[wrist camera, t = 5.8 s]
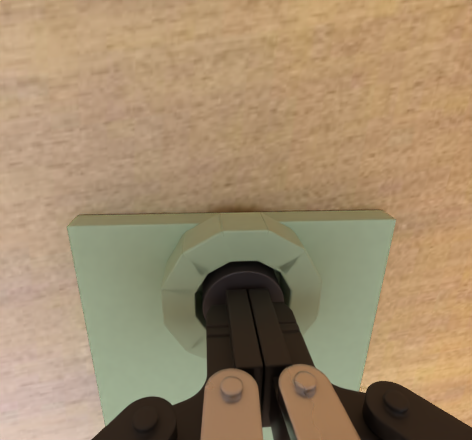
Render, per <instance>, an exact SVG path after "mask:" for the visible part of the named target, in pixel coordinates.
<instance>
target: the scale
mask: <svg viewBox="0 0 472 440" xmlns="http://www.w3.org/2000/svg"><path fill="white" fill-rule="evenodd" d="M395 223H396V219H395V218H393V217H392V216H390V215H389V214H387V213H386V212H384V211H383V210H346V211H290V212H234V213H179V214H123V215H78V216H77V217H76V218H75V219H74V220H73V221H72V222H71V223H70V224H69V225H68V226H67V230H68V235H69V241H70V246H71V251H72V256H73V261H74V267H75V272H76V277H77V282H78V287H79V292H80V298H81V303H82V308H83V313H84V318H85V324H86V329H87V334H88V339H89V344H90V350H91V355H92V360H93V365H94V370H95V375H96V381H97V386H98V391H99V396H100V401H101V407H102V412H103V417H104V422H105V427H106V426H107V425H108V424H109V423H110V422H111V421H112V420H113V419H114V418H115V417H116V416H117V415H118V414H119V413H120V412H122V411H123V410H124V409H125V408H126V407H127V406H128V405H129V404H131V403H132V402H134V401H136V400H138V399H141V398H144V397H149V396H155V397H161V398H164V399H165V400H167V401H168V402H170V403H171V404H172V405H174V404H177V403H180V402H182V401H185V400H187V399H189V398H191V397H192V396H194V395H195V394H196V393H198V392H199V391H200V389H201V388H202V387H203V385H204V383H205V381H206V378H207V341H206V320H205V318H204V315H203V309H202V282H203V281H204V279H205V278H206V276H207V275H208V274H209V273H210V272H212V271H214V270H216V269H218V268H220V267H222V266H223V265H225V264H227V263H229V262H235V261H259V262H261V263H263V264H265V265H267V266H269V267H271V268H273V269H274V272H275V275H276V277H277V280H278V282H279V285H280V287H281V290H282V293H283V296H284V303H285V304H286V305H287V306H288V307H289V308H290V309H291V310H292V311H293V314H294V316H295V319H296V322H297V324H298V326H299V329H300V332H301V333H302V336H303V338H304V341H305V343H306V346H307V348H308V351H309V353H310V356H311V358H312V360H313V363H314V365H315V367H316V368H317V369H319V370H320V371H322V372H323V373H324V374H325V375H326V376H327V377H328V379H329V381H330V382H331V383H332V384H334V385H336V386H338V387H341V388H345V389H349V390H354V391H358V392H359V389H360V385H361V380H362V375H363V371H364V366H365V362H366V357H367V352H368V348H369V343H370V338H371V334H372V329H373V325H374V320H375V315H376V311H377V306H378V301H379V297H380V292H381V288H382V283H383V278H384V274H385V269H386V264H387V260H388V255H389V251H390V246H391V241H392V237H393V232H394V228H395ZM262 431H263V440H274V439H273V435H272V430H271V427H263V428H262Z"/></svg>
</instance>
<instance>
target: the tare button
mask: <svg viewBox="0 0 472 440" xmlns="http://www.w3.org/2000/svg"><path fill="white" fill-rule="evenodd" d="M259 288H267V289H268V291H269V294H270V297H271V300H272V302H284V296H283V293H282V290H281V287H280V285H279V282H278V280H277V277H276V275H275V272H274V269H273V268H271V267H269V266H267V265H265V264H263V263H261V262H259V261H235V262H229V263H227V264H225V265H223V266H222V267H220V268H218V269H216V270H214V271H212V272H210V273H209V274H208V275H207V276H206V278H205V279H204V281H203V282H202V309H203V315H204V318H205V320H206V314H207V312H208V311H209V309H210V307H211V306H212V305H220V304H226V290H236V289H246V291H247V289H259Z"/></svg>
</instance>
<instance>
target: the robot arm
mask: <svg viewBox="0 0 472 440" xmlns="http://www.w3.org/2000/svg"><path fill="white" fill-rule="evenodd" d="M206 341H207V378H206V381H205V383H204V385H203V387H202V388H201V389H200V391H199V392H198V393H196V394H195V395H194V396H192V397H191V398H189V399H187V400H185V401H182V402H180V403H177V404H174V405H172V404H171V403H170V402H168V401H167V400H165V399H164V398H161V397H155V396H149V397H144V398H141V399H138V400H136V401H134V402H132V403H131V404H129V405H128V406H127V407H126V408H125V409H124V410H123V411H122V412H120V413H119V414H118V415H117V416H116V417H115V418H114V419H113V420H112V421H111V422H110V423H109V424H108V425H107V426H106V427H105V428H103V429H102V430H101V431H100V432H99V433H98V434H97V435H96V436H95V437H94V438H93V439H92V440H263V431H262V428H263V427H271V430H272V435H273V439H274V440H472V427H470V426H468V425H467V424H465V423H463V422H462V421H460V420H458V419H457V418H455V417H453V416H452V415H450V414H448V413H447V412H445V411H443V410H442V409H440V408H438V407H437V406H435V405H433V404H432V403H430V402H428V401H427V400H425V399H423V398H422V397H420V396H418V395H417V394H415V393H413V392H412V391H410V390H408V389H407V388H405V387H403V386H401V385H399V384H396V383H393V382H388V381H379V382H375V383H373V384H371V385H370V386H369V387H368V389H367V391H366V393H363V392H358V391H354V390H349V389H345V388H341V387H338V386H336V385H334V384H332V383H331V382H330V381H329V379H328V377H327V376H326V375H325V374H324V373H323V372H322V371H320V370H319V369H317V368H316V367H315V365H314V363H313V360H312V358H311V356H310V353H309V351H308V348H307V346H306V343H305V341H304V338H303V336H302V333H301V332H300V329H299V326H298V324H297V322H296V319H295V316H294V314H293V311H292V310H291V309H290V308H289V307H288V306H287V305H286V304H285V303H284V302H272V300H271V297H270V294H269V291H268V289H267V288H259V289H247V291H246V289H236V290H226V304H220V305H212V306H211V307H210V309H209V311H208V312H207V314H206Z"/></svg>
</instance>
